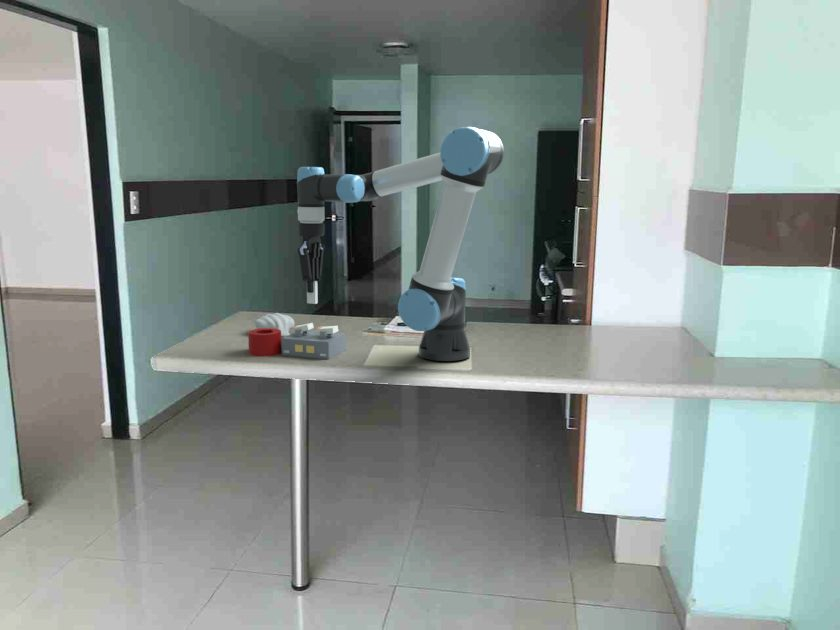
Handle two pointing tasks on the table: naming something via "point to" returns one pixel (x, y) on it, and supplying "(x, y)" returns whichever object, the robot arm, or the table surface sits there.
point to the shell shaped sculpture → (276, 323)
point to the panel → (313, 344)
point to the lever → (265, 342)
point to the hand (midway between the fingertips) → (312, 303)
